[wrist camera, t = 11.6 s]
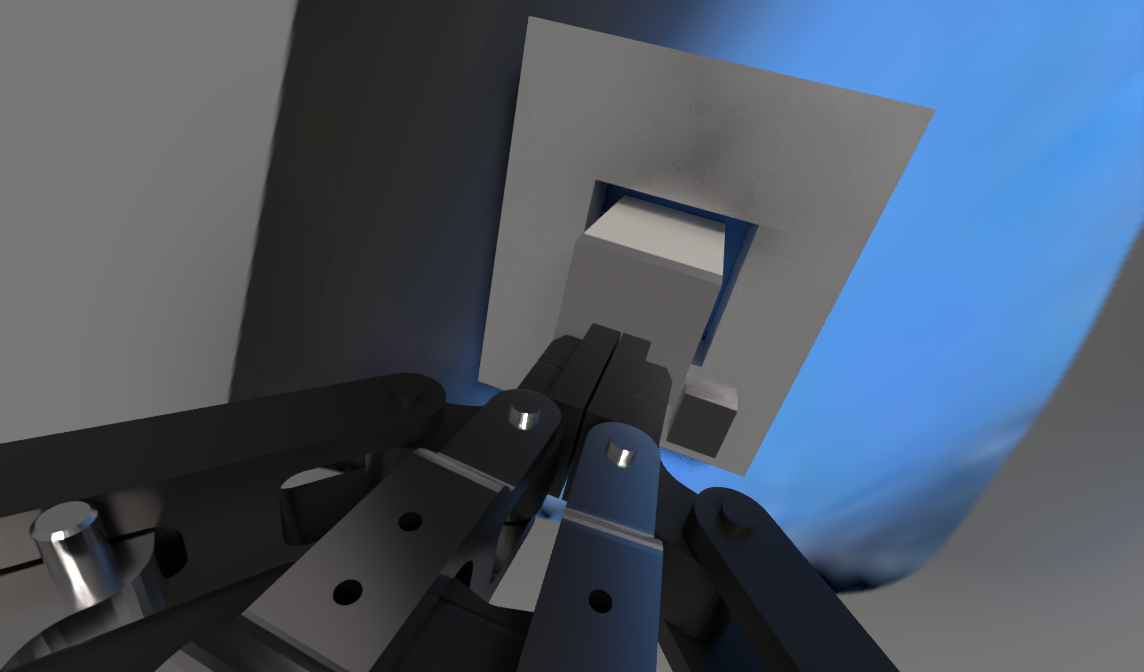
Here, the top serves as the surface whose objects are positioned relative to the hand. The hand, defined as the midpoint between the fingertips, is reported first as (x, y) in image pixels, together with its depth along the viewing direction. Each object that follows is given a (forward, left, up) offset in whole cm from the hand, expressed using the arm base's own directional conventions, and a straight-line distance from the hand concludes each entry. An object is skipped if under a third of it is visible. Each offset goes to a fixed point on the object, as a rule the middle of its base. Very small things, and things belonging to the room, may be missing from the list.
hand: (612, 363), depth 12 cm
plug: (0, 0, -9) cm, 9 cm away
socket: (0, 0, -9) cm, 9 cm away
